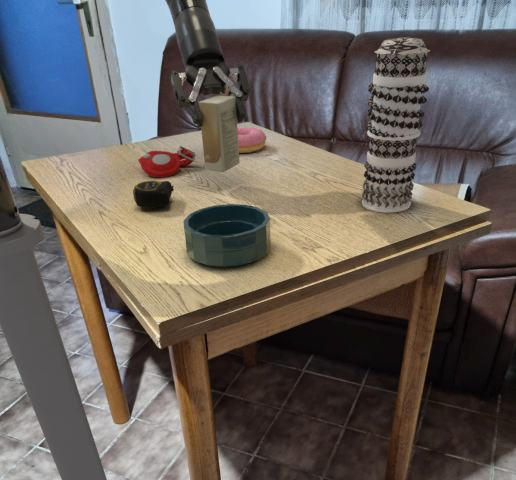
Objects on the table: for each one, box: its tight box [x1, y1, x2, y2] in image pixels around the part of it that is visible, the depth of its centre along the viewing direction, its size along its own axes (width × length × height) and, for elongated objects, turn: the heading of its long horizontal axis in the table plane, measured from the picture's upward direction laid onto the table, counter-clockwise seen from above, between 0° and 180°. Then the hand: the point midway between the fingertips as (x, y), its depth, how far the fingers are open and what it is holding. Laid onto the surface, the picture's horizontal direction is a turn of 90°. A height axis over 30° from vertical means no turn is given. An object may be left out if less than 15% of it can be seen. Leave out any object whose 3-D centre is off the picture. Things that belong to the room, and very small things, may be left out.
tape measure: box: [132, 180, 175, 209], centre depth 93 cm, size 7×7×4 cm
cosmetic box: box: [198, 94, 240, 173], centre depth 96 cm, size 6×4×12 cm
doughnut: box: [237, 127, 267, 154], centre depth 123 cm, size 11×11×4 cm
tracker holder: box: [138, 145, 197, 178], centre depth 112 cm, size 12×4×10 cm
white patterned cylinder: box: [361, 37, 431, 214], centre depth 83 cm, size 9×9×25 cm
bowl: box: [183, 203, 272, 268], centre depth 76 cm, size 12×12×5 cm
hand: (221, 121), depth 93 cm, fingers closed on cosmetic box, 7 cm apart
